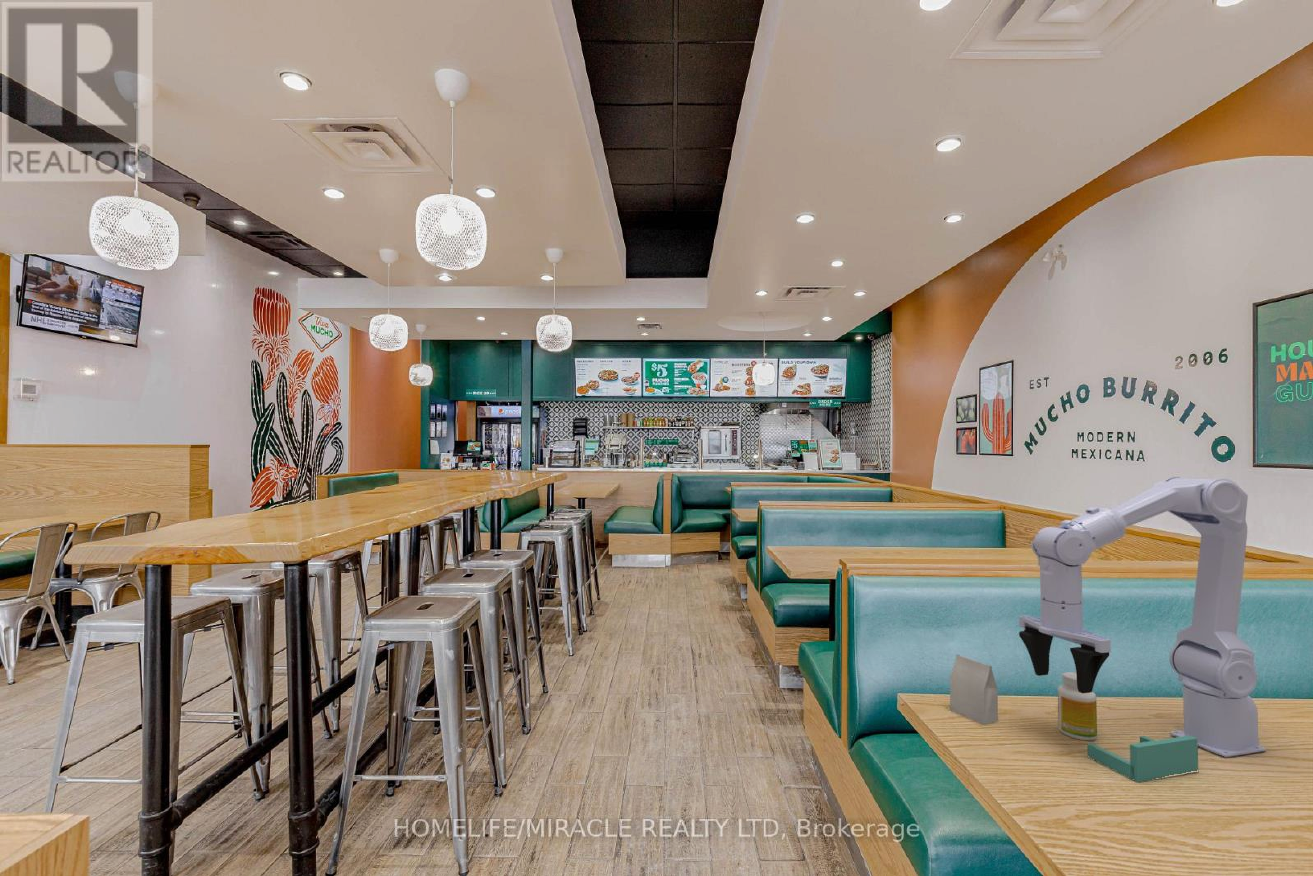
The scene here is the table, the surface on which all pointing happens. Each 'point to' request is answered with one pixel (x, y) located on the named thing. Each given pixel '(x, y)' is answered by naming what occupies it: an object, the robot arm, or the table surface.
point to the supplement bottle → (1076, 710)
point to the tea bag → (973, 691)
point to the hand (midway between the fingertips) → (1062, 683)
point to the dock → (1151, 758)
